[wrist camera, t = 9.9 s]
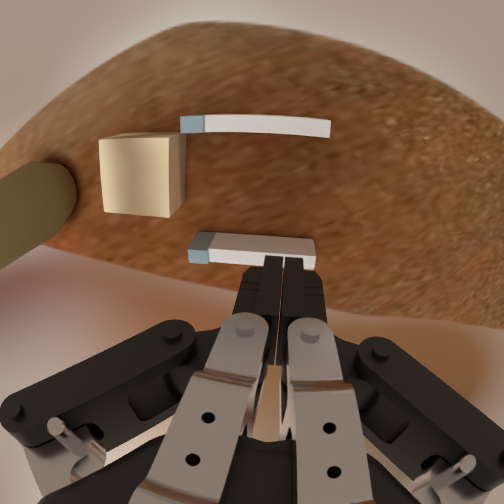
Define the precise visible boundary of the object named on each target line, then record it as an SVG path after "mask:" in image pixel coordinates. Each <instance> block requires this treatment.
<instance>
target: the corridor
mask: <svg viewBox="0 0 504 504" xmlns="http://www.w3.org/2000/svg"><path fill="white" fill-rule="evenodd" d="M180 123H181V133H204V132H255V133H277V134H292V135H305V136H316V137H325V138H330V126H331V121H330V120H326V119H319V118H309V117H297V116H283V115H262V114H203V115H189V116H181V117H180ZM265 255H271V256H283V267H284V262H285V257H297V258H303V263H304V269H314V267H315V260H316V253H315V247H314V242H313V239H304V238H291V237H277V236H263V235H248V234H233V233H217V232H201V231H199V233H198V234H197V236H196V237H195V239H194V240H193V242H192V244H191V245H190V247H189V248H188V257H189V263H200V264H208V263H209V262H220V263H233V264H246V265H259V266H263V265H264V259H265Z"/></svg>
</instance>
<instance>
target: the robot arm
mask: <svg viewBox="0 0 504 504" xmlns="http://www.w3.org/2000/svg"><path fill="white" fill-rule="evenodd" d="M282 270H283V256H271V255H265V259H264V265H263V267H253V266H251V267H250V268H249V269H247V270H246V271H245V272H244V273H243V277H242V281H241V284H240V288H239V291H238V295H237V299H236V302H235V306H234V309H233V313H232V315H231V316H229V317H228V318H227V319H226V320H225V321H224V322H223V324H222V326H221V327H220V328H217V329H214V330H207V331H198V332H195V329H194V328H193V326H192V325H191V324H189V323H188V322H186V321H182V320H167V321H164V322H161V323H159V324H157V325H155V326H153V327H151V328H149V329H147V330H145V331H143V332H142V333H139V334H137V335H135V336H133V337H131V338H129V339H127V340H125V341H123V342H121V343H119V344H117V345H115V346H113V347H111V348H109V349H107V350H105V351H103V352H101V353H99V354H96V355H94V356H93V357H90V358H88V359H86V360H84V361H82V362H80V363H78V364H76V365H74V366H72V367H69V368H67V369H65V370H63V371H61V372H59V373H57V374H54V375H52V376H50V377H48V378H46V379H44V380H42V381H39V382H37V383H35V384H33V385H31V386H29V387H26V388H24V389H22V390H20V391H18V392H16V393H13V394H11V395H9V396H8V397H7V398H6V399H5V400H4V401H3V403H2V404H1V407H0V422H1V424H2V426H3V427H4V428H5V429H6V430H7V431H8V432H9V433H10V434H11V435H12V436H13V437H15V438H16V439H17V440H18V442H19V443H20V444H21V445H22V446H23V448H24V451H25V454H26V457H27V460H28V462H29V465H30V468H31V470H32V473H33V475H34V478H35V480H36V483H37V485H38V487H39V490H40V492H41V494H42V496H43V498H42V499H41V500H40V501H39V503H38V504H483V503H484V501H485V500H486V498H487V496H488V495H489V493H490V491H492V490H493V489H494V488H496V487H497V486H499V485H501V484H502V483H504V430H503V429H502V428H500V427H499V426H498V425H497V424H496V423H494V422H493V421H492V420H491V419H489V418H488V417H487V416H486V415H484V414H483V413H482V412H481V411H480V410H478V409H477V408H476V407H475V406H473V405H472V404H471V403H469V402H468V401H467V400H466V399H465V398H463V397H462V396H461V395H460V394H458V393H457V392H456V391H455V390H453V389H452V388H451V387H450V386H448V385H447V384H446V383H445V382H443V381H442V380H441V379H440V378H438V377H437V376H436V375H434V374H433V373H432V372H431V371H429V370H428V369H427V368H426V367H424V366H423V365H422V364H420V363H419V362H418V361H417V360H415V359H414V358H413V357H411V356H410V355H409V354H408V353H406V352H405V351H404V350H402V349H401V348H400V347H399V346H397V345H396V344H395V343H394V342H392V341H390V340H388V339H386V338H382V337H369V338H367V339H365V340H363V341H362V342H361V343H360V345H357V344H354V343H350V342H347V341H344V340H342V339H340V338H338V337H336V336H335V335H334V334H333V331H332V329H331V327H330V326H329V325H328V324H327V317H326V309H325V300H324V293H323V285H322V279H321V278H320V276H319V275H318V274H317V273H316V271H304V263H303V258H297V257H285V262H284V273H283V284H282ZM281 285H282V294H281ZM280 298H281V307H280ZM279 311H280V320H279ZM278 321H279V332H278V345H277V356H276V365H281V366H282V369H281V378H280V384H279V389H280V390H279V392H280V432H279V433H280V434H279V441H276V442H262V441H259V440H256V439H253V438H252V433H253V428H254V423H255V419H256V415H257V411H258V407H259V403H260V398H261V394H262V390H263V385H264V380H265V378H266V375H267V369H268V365H274V358H275V348H276V340H277V331H278ZM174 414H175V415H174ZM172 415H174V417H173V419H172V422H171V424H170V426H169V428H168V431H167V433H166V434H165V435H162V436H159V437H156V438H154V439H152V440H149V441H148V442H146V443H144V444H143V445H141V446H140V447H138V448H136V449H134V450H133V451H131V452H129V453H128V454H126V455H124V456H122V457H121V458H119V459H118V460H116V461H114V462H112V463H110V464H108V465H106V466H105V467H104V464H105V460H106V452H108V451H110V450H112V449H114V448H115V447H117V446H119V445H121V444H123V443H125V442H127V441H129V440H130V439H132V438H134V437H136V436H138V435H139V434H141V433H143V432H145V431H147V430H148V429H150V428H152V427H154V426H155V425H157V424H159V423H160V422H162V421H164V420H166V419H167V418H169V417H170V416H172ZM363 435H364V436H365V437H366V438H367V439H368V440H369V441H370V442H371V443H372V444H374V446H375V447H377V448H378V449H379V450H380V451H381V452H382V453H383V454H384V455H385V456H386V457H387V458H388V459H389V460H390V461H391V462H393V463H394V464H395V465H396V466H397V467H398V468H399V469H400V470H401V471H403V472H404V473H405V474H406V475H407V476H408V477H409V478H410V479H411V480H413V481H414V482H413V485H412V492H411V493H410V492H409V491H408V490H407V489H406V488H405V487H404V486H403V485H402V484H401V483H400V482H398V480H397V479H396V478H395V477H393V476H392V474H391V473H390V472H389V471H387V469H386V468H385V467H384V466H383V465H382V464H380V462H379V461H377V460H376V459H375V458H373V457H372V456H371V455H369V454H367V453H366V449H365V443H364V438H363Z"/></svg>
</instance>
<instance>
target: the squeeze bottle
mask: <svg viewBox="0 0 504 504" xmlns="http://www.w3.org/2000/svg"><path fill="white" fill-rule="evenodd" d="M76 200H77V189H76V186H75V182H74V179H73V177H72V176H71V174H70V172H69V171H68V170H67V169H66V168H65V167H64V166H62V165H60V164H55V163H43V162H29V163H27V164H25V165H23V166H22V167H20V168H18V169H17V170H15V171H13V172H12V173H10V174H8V175H7V176H5V177H3V178H2V179H0V270H1V269H3V268H4V267H6V266H7V265H9V264H10V263H12V262H13V261H15V260H16V259H18V258H19V257H21V256H23V255H24V254H26V253H27V252H29V251H31V250H32V249H34V248H36V247H37V246H39V245H41V244H42V243H44V242H46V241H47V240H49V239H51V238H53V237H54V236H55V235H56V234H57V233H58V232H59V231H60V230H61V228H62V226H63V225H64V223H65V221H66V220H67V218H68V217H69V215H70V214H71V212H72V210H73V209H74V206H75V203H76Z"/></svg>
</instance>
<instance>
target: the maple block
mask: <svg viewBox="0 0 504 504" xmlns="http://www.w3.org/2000/svg"><path fill="white" fill-rule="evenodd" d="M186 137H187V133H181V132H137V133H122V134H118V135H114V136H110V137H107V138H103V139H100V140H99V155H100V171H101V184H102V194H103V204H104V212H112V213H123V214H134V215H145V216H156V217H166V218H170V217H171V216H172V215H173V214H174V213H175V212H176V211H177V210H178V209H179V208H180V206H181V205H182V204H183V203H184V202H185V201H186Z"/></svg>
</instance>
